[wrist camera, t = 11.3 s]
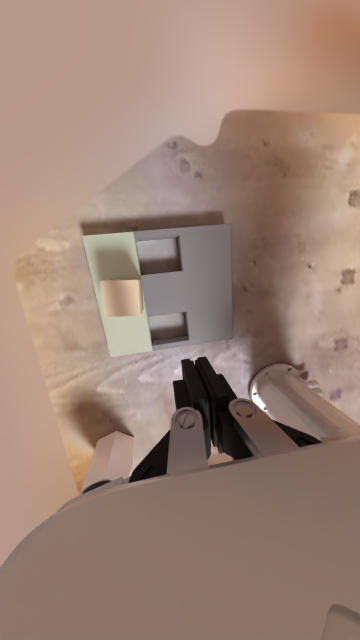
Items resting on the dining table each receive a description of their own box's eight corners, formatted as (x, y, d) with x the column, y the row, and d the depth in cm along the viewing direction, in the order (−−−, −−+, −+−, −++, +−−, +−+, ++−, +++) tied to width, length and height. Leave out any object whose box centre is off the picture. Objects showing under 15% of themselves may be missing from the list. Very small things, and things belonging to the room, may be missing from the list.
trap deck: (224, 227, 30) (230, 223, 28) (227, 334, 36) (232, 338, 33) (87, 238, 28) (81, 235, 26) (113, 351, 33) (110, 357, 31)
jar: (135, 459, 41) (127, 531, 30) (98, 462, 40) (75, 538, 28) (135, 429, 39) (127, 494, 27) (97, 431, 38) (71, 500, 26)
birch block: (141, 278, 28) (138, 279, 24) (143, 308, 30) (140, 315, 25) (109, 279, 28) (99, 280, 23) (113, 309, 29) (104, 317, 24)
